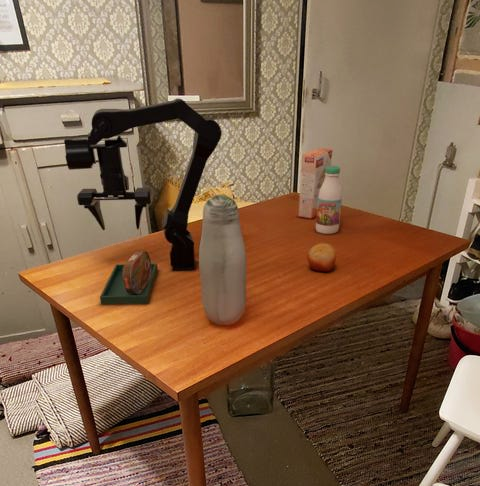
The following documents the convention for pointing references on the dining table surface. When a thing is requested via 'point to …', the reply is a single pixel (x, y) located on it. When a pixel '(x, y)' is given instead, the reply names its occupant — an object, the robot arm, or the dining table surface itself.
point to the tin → (137, 272)
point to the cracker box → (312, 180)
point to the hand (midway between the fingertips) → (121, 229)
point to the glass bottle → (222, 261)
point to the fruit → (322, 257)
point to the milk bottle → (329, 202)
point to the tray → (116, 289)
